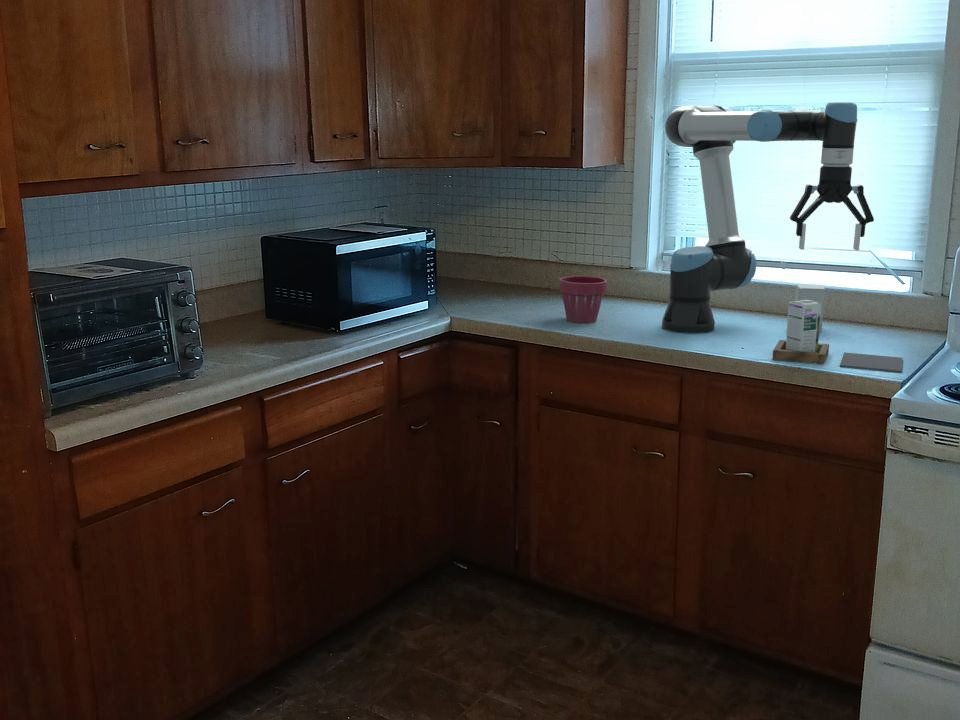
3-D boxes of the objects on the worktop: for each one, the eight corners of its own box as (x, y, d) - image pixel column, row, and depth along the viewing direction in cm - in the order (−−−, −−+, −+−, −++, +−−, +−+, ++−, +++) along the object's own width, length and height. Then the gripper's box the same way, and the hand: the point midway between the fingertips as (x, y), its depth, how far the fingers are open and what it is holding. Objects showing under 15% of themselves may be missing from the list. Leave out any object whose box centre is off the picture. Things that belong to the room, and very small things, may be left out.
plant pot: (612, 318, 290) (613, 277, 287) (595, 327, 278) (596, 284, 275) (569, 314, 297) (570, 273, 294) (551, 322, 285) (551, 280, 282)
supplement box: (822, 332, 271) (826, 288, 268) (795, 331, 273) (798, 288, 269) (818, 326, 278) (822, 284, 275) (792, 325, 280) (795, 283, 276)
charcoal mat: (839, 366, 234) (840, 364, 233) (843, 354, 246) (844, 352, 246) (901, 372, 228) (901, 370, 228) (902, 359, 240) (902, 357, 240)
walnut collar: (772, 359, 241) (773, 350, 240) (778, 348, 252) (779, 339, 251) (824, 364, 236) (824, 354, 235) (828, 353, 247) (829, 344, 246)
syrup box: (800, 360, 240) (804, 304, 236) (784, 355, 245) (788, 300, 242) (817, 358, 242) (822, 302, 239) (801, 352, 247) (805, 298, 244)
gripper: (788, 166, 236) (781, 250, 241) (892, 166, 233) (883, 252, 238) (782, 164, 243) (776, 246, 248) (883, 164, 240) (875, 247, 245)
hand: (828, 249), depth 243 cm, fingers open, 13 cm apart
